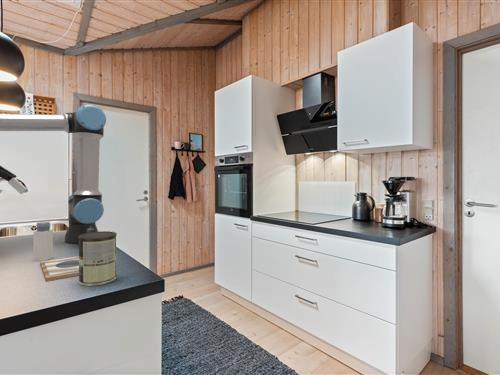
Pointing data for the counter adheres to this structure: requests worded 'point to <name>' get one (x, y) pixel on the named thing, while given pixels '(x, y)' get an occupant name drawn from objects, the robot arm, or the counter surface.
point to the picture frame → (60, 268)
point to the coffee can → (97, 258)
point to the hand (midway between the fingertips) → (12, 192)
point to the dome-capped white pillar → (43, 242)
